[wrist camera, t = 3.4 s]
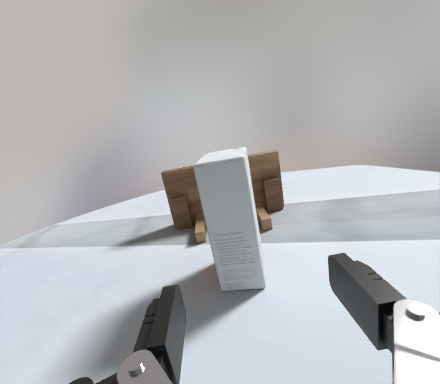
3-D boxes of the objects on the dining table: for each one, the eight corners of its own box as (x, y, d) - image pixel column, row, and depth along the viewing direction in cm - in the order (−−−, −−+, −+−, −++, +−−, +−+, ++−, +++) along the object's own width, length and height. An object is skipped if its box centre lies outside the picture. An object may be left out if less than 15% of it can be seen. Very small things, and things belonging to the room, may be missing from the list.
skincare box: (225, 256, 27) (205, 153, 24) (263, 252, 26) (247, 146, 23) (219, 293, 21) (190, 164, 18) (266, 290, 21) (246, 155, 17)
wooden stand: (300, 223, 31) (294, 156, 29) (168, 248, 31) (150, 184, 29) (281, 203, 40) (275, 149, 37) (176, 223, 40) (162, 171, 37)
